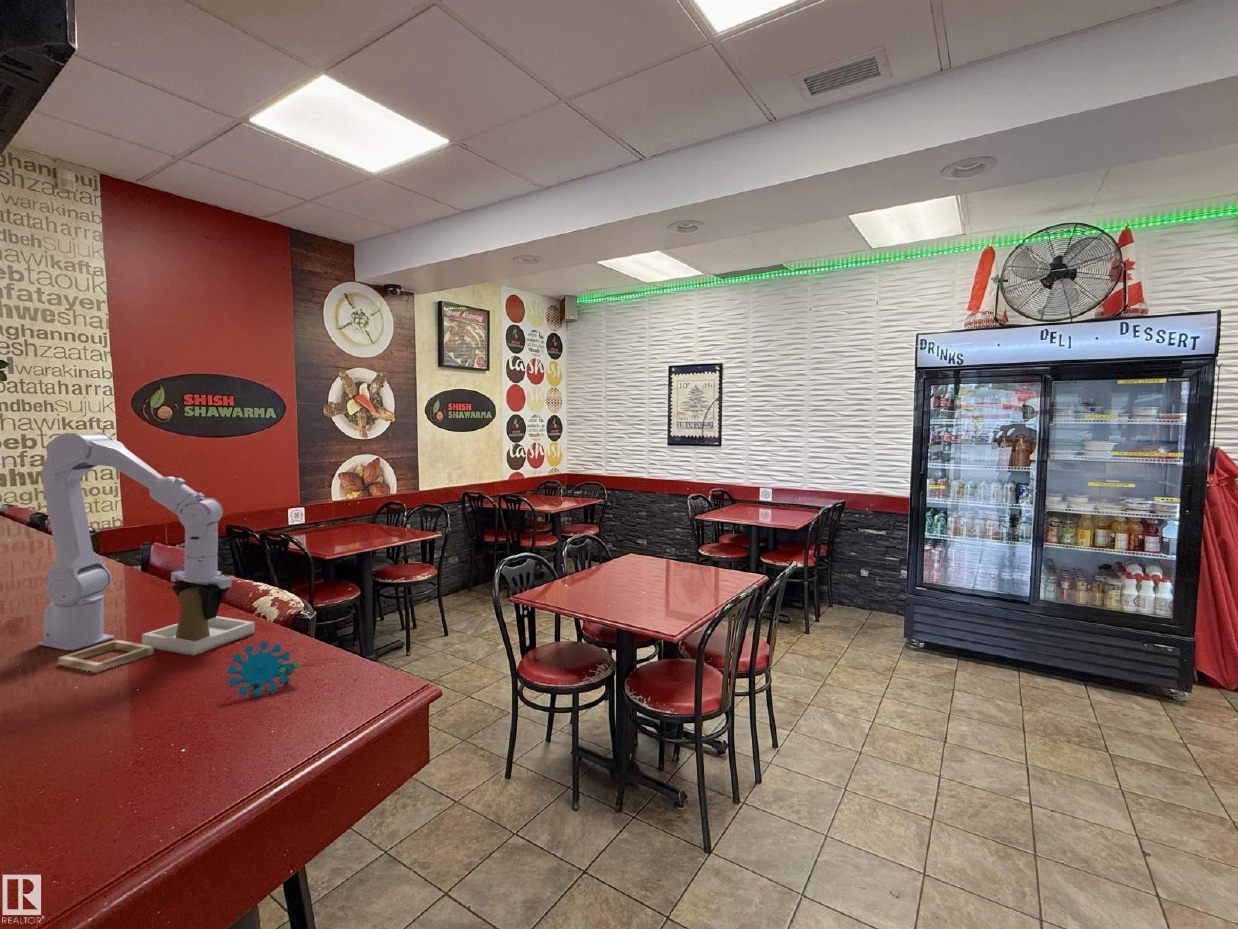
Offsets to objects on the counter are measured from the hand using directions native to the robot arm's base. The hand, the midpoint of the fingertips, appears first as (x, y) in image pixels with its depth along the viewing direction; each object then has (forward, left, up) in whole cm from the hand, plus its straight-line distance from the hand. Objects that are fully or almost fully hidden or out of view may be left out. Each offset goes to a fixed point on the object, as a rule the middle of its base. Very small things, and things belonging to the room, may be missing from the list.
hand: (200, 616), depth 121 cm
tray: (0, 0, -5) cm, 5 cm away
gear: (+31, -13, -5) cm, 35 cm away
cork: (0, -2, -5) cm, 5 cm away
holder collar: (-6, -14, -5) cm, 16 cm away
